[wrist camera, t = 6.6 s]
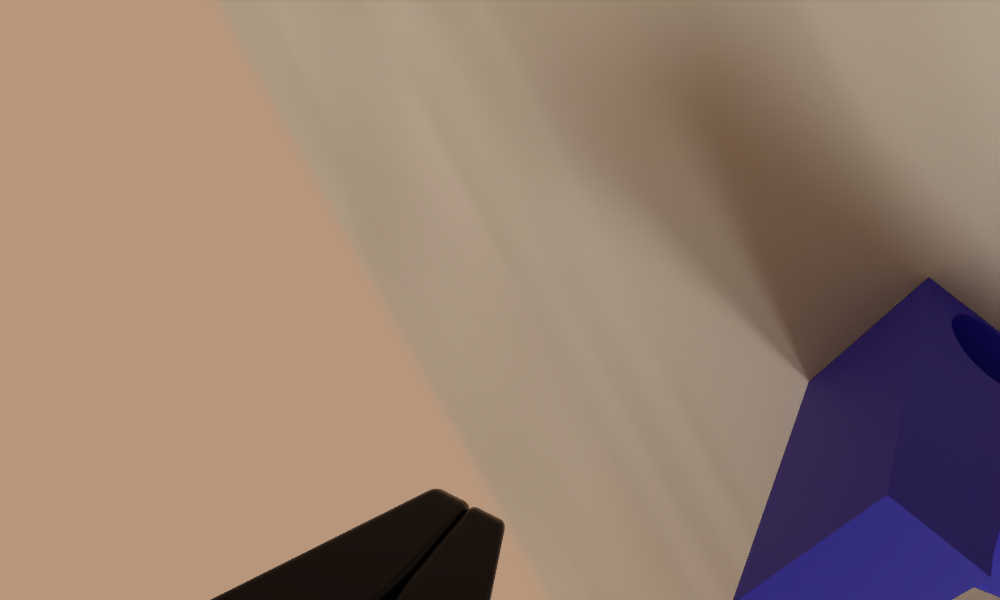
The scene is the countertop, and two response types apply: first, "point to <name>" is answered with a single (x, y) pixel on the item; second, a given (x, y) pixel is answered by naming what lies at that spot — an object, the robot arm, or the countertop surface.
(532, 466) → the countertop surface
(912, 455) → the cable clip
